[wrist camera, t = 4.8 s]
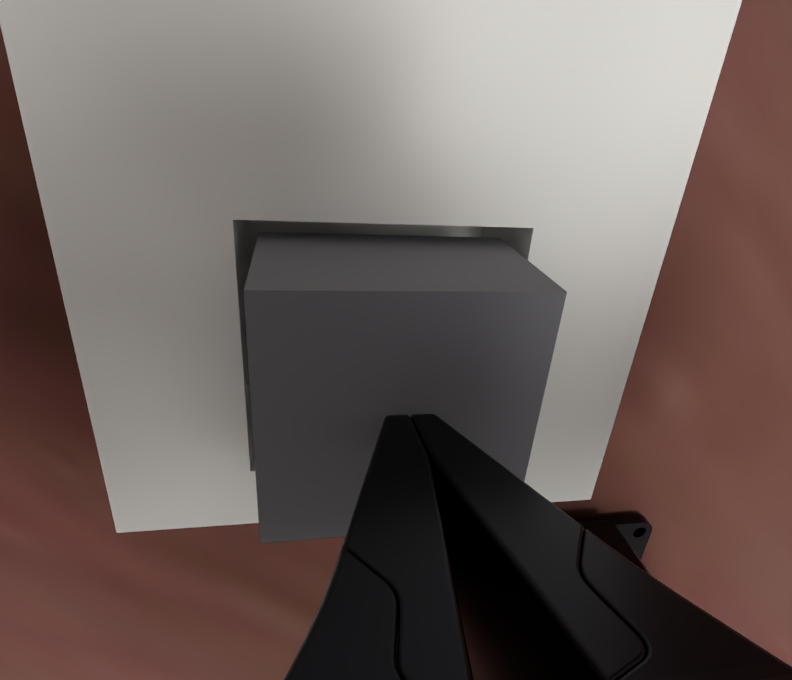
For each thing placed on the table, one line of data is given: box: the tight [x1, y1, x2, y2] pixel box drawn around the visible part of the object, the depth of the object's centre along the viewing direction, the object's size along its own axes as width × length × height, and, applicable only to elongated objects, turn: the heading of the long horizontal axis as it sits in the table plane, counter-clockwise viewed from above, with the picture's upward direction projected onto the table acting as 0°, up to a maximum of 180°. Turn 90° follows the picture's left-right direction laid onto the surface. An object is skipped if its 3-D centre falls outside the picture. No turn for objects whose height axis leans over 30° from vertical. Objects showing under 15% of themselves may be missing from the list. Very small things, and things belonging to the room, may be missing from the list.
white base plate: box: [0, 0, 742, 533], centre depth 10 cm, size 22×12×4 cm, turn 176°
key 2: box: [244, 232, 567, 543], centre depth 10 cm, size 5×5×3 cm
